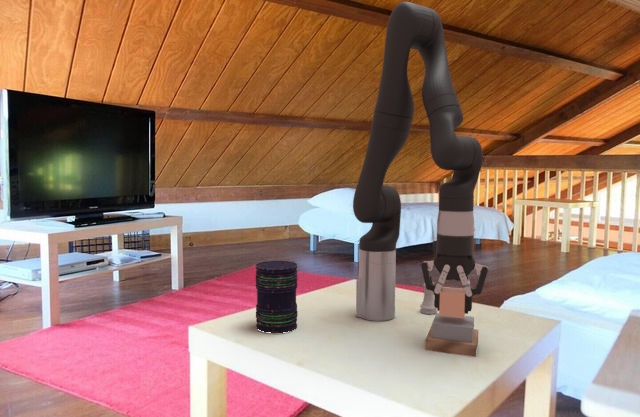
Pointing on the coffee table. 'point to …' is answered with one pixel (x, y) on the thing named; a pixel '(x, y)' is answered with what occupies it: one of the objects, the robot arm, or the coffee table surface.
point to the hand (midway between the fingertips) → (452, 310)
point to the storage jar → (276, 296)
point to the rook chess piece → (428, 302)
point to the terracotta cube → (452, 302)
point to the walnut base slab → (452, 345)
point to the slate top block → (453, 328)
